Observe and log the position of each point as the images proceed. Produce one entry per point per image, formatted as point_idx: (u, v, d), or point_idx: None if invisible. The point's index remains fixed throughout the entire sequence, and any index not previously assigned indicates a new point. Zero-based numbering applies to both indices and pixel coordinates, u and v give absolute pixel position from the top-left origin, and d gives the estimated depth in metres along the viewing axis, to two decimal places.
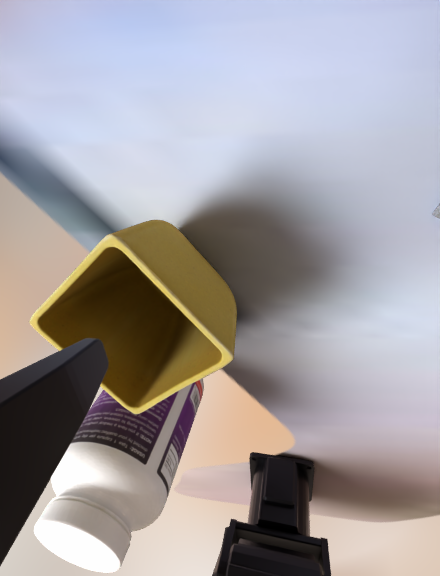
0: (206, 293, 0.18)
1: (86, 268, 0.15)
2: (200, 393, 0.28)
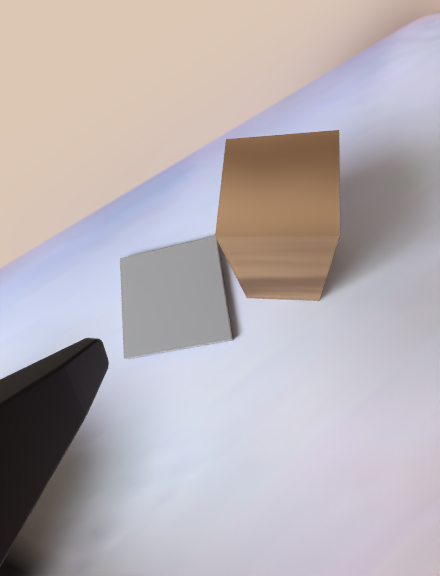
0: None
1: None
2: None
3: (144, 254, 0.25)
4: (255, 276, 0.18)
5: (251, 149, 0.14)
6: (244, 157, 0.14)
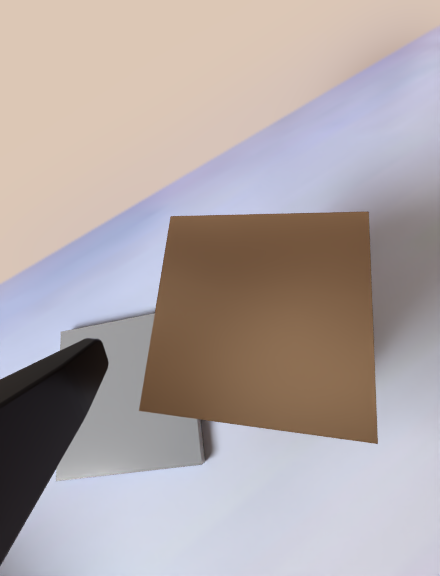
0: None
1: None
2: None
3: (92, 328, 0.19)
4: None
5: (211, 238, 0.08)
6: (199, 253, 0.08)
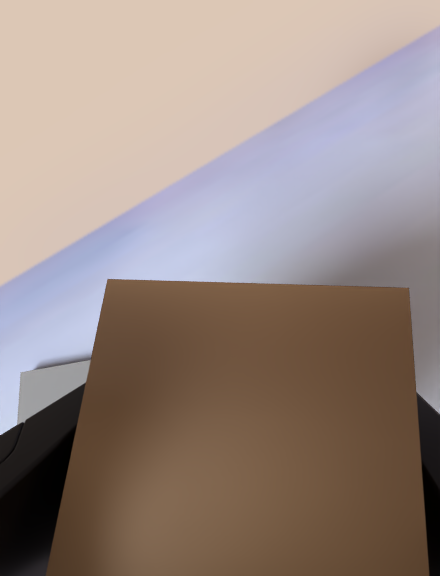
0: None
1: None
2: None
3: (56, 369, 0.16)
4: None
5: (164, 318, 0.05)
6: (145, 341, 0.05)
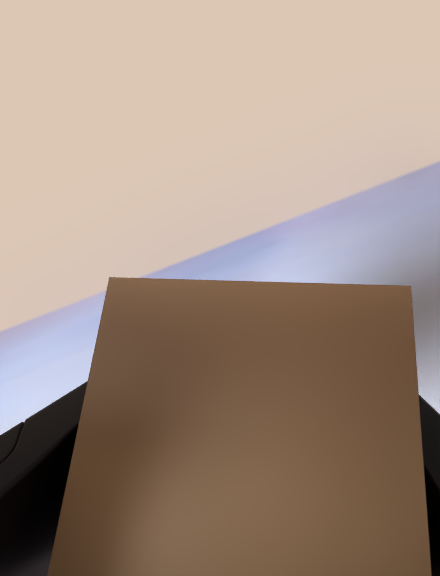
0: None
1: None
2: None
3: None
4: None
5: (166, 316, 0.05)
6: (146, 340, 0.05)
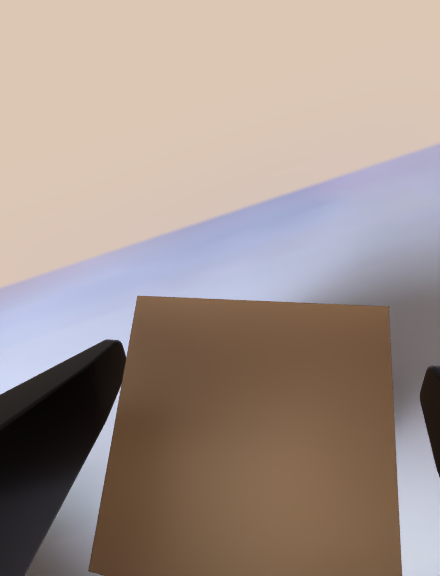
0: None
1: None
2: None
3: None
4: None
5: (187, 330, 0.06)
6: (171, 349, 0.06)
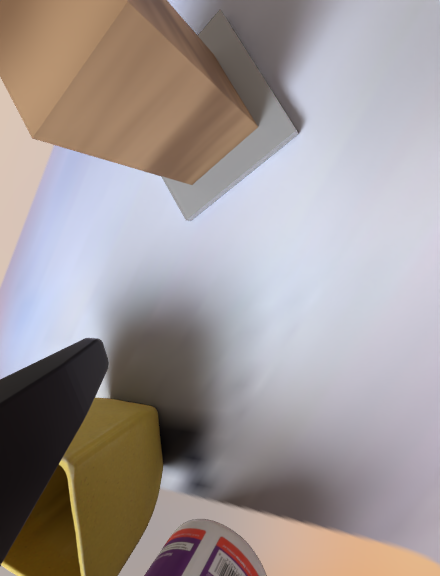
0: None
1: None
2: (240, 561, 0.20)
3: None
4: (154, 153, 0.14)
5: None
6: None
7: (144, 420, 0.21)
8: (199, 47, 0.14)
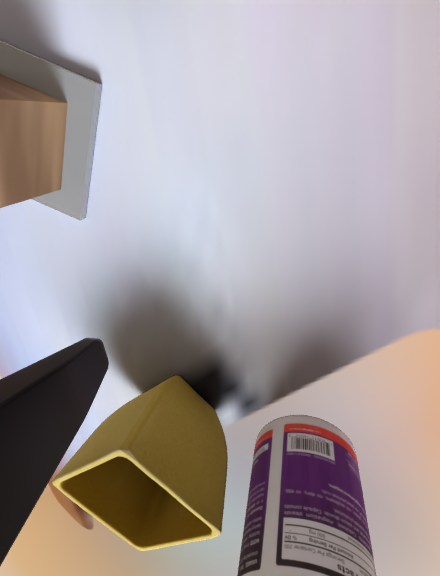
0: (118, 426, 0.21)
1: (81, 503, 0.22)
2: (307, 430, 0.23)
3: None
4: None
5: None
6: None
7: (169, 388, 0.23)
8: None
